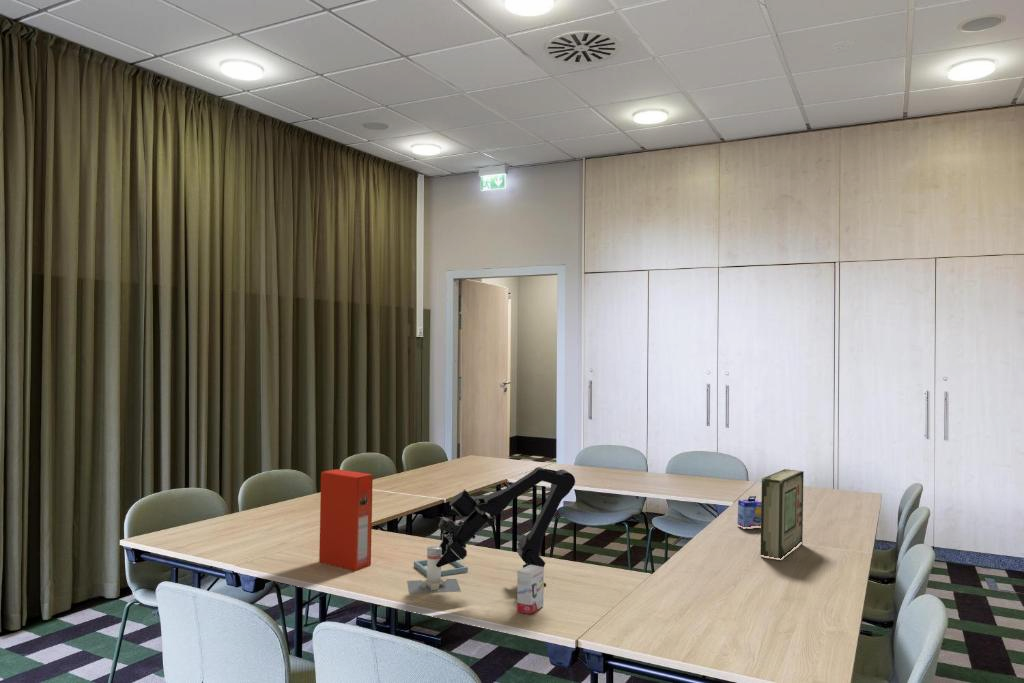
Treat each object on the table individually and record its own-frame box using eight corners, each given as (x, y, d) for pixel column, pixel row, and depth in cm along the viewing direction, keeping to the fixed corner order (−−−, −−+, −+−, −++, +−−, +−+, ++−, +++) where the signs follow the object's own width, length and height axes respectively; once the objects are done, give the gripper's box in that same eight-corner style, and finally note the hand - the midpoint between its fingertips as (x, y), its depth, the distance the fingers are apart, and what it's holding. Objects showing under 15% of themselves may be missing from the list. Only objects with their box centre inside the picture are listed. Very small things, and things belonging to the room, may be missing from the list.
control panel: (780, 561, 259) (782, 481, 260) (760, 557, 264) (761, 478, 264) (802, 544, 283) (803, 471, 283) (783, 541, 288) (784, 469, 288)
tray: (450, 563, 247) (450, 556, 247) (467, 574, 235) (467, 567, 235) (413, 568, 240) (413, 561, 240) (429, 580, 228) (429, 573, 228)
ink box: (530, 615, 200) (531, 574, 200) (515, 611, 203) (516, 571, 203) (544, 606, 208) (545, 566, 208) (529, 602, 210) (530, 563, 210)
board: (456, 581, 227) (456, 573, 228) (460, 594, 216) (461, 585, 216) (407, 583, 224) (407, 575, 224) (409, 596, 212) (409, 587, 213)
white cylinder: (437, 582, 223) (438, 545, 223) (443, 587, 219) (444, 549, 219) (424, 584, 221) (425, 547, 221) (429, 589, 217) (430, 550, 217)
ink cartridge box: (744, 530, 305) (744, 497, 305) (736, 527, 310) (737, 494, 310) (763, 528, 307) (763, 496, 308) (755, 525, 313) (755, 493, 313)
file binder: (354, 571, 235) (356, 477, 236) (318, 562, 244) (321, 471, 245) (370, 565, 242) (373, 474, 243) (335, 557, 251) (337, 468, 252)
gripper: (450, 502, 231) (416, 536, 228) (457, 515, 212) (420, 552, 210) (473, 525, 232) (439, 559, 230) (482, 541, 214) (445, 578, 211)
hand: (435, 561), depth 220 cm, fingers open, 9 cm apart
